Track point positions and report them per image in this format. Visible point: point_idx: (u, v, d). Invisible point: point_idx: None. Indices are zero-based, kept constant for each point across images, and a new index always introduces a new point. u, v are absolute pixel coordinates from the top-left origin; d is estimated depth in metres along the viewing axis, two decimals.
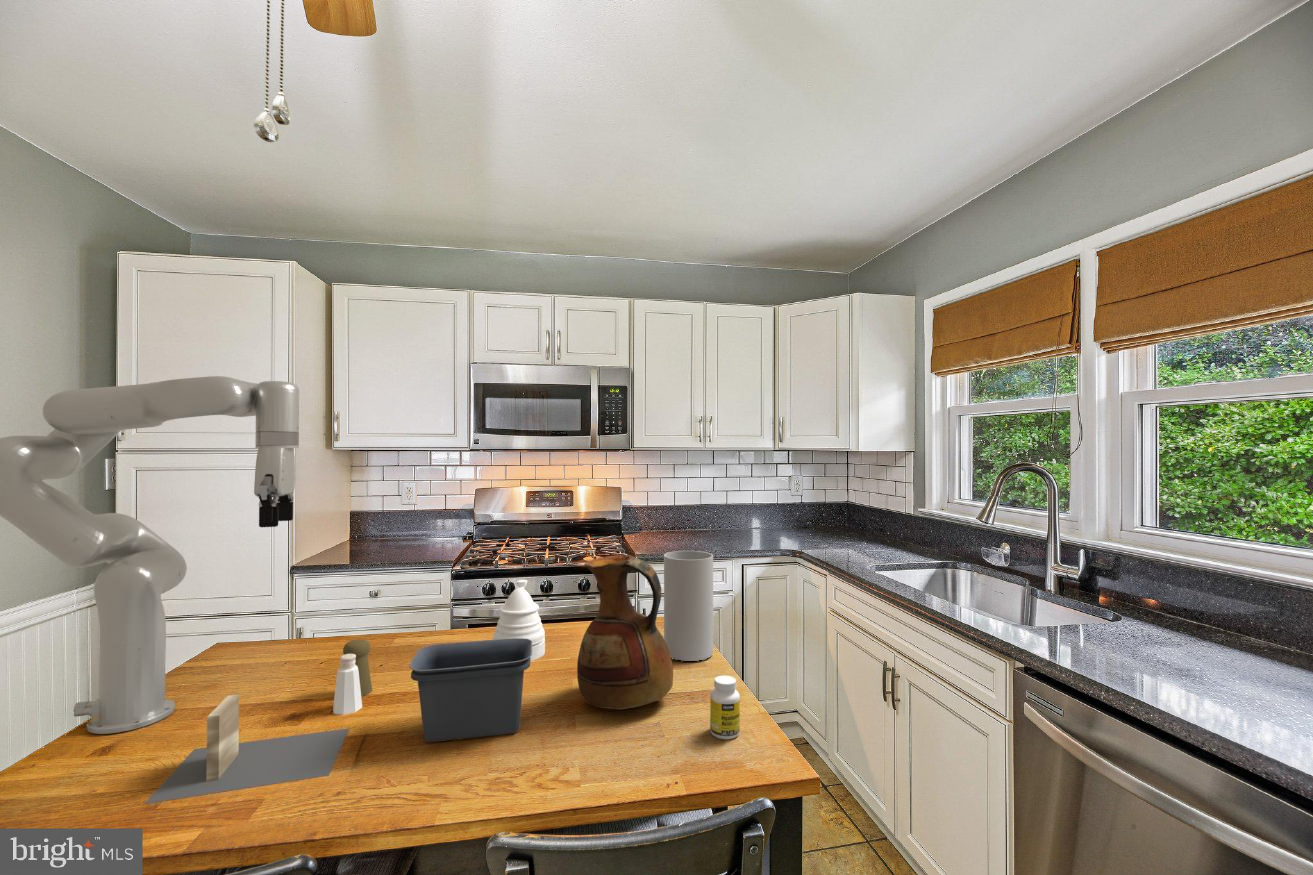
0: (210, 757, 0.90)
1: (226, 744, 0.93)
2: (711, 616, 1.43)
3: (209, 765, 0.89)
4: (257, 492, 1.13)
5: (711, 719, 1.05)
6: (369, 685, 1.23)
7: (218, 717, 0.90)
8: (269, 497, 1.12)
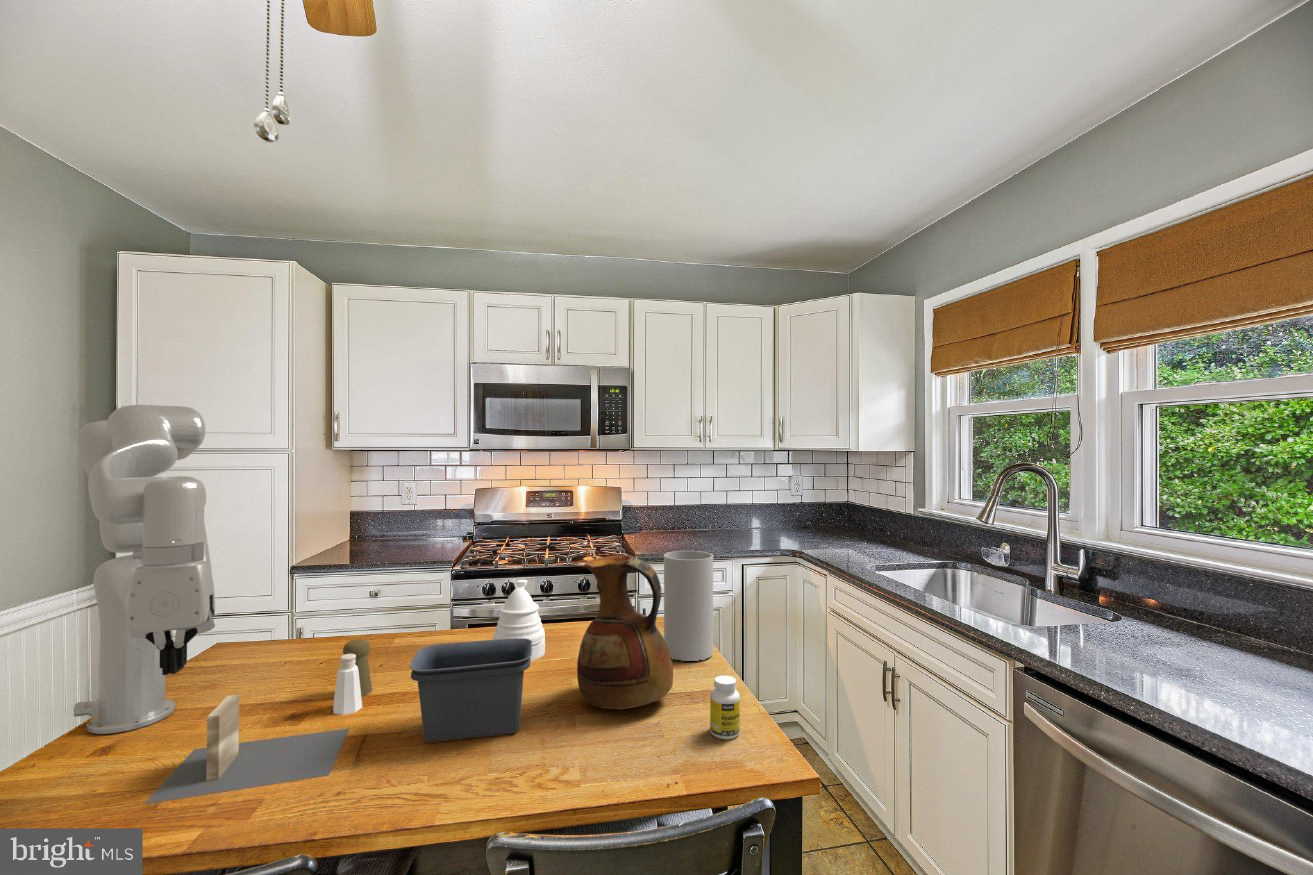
0: (210, 757, 0.90)
1: (226, 744, 0.93)
2: (711, 616, 1.43)
3: (209, 765, 0.89)
4: (205, 620, 0.91)
5: (711, 719, 1.05)
6: (369, 685, 1.23)
7: (218, 717, 0.90)
8: None
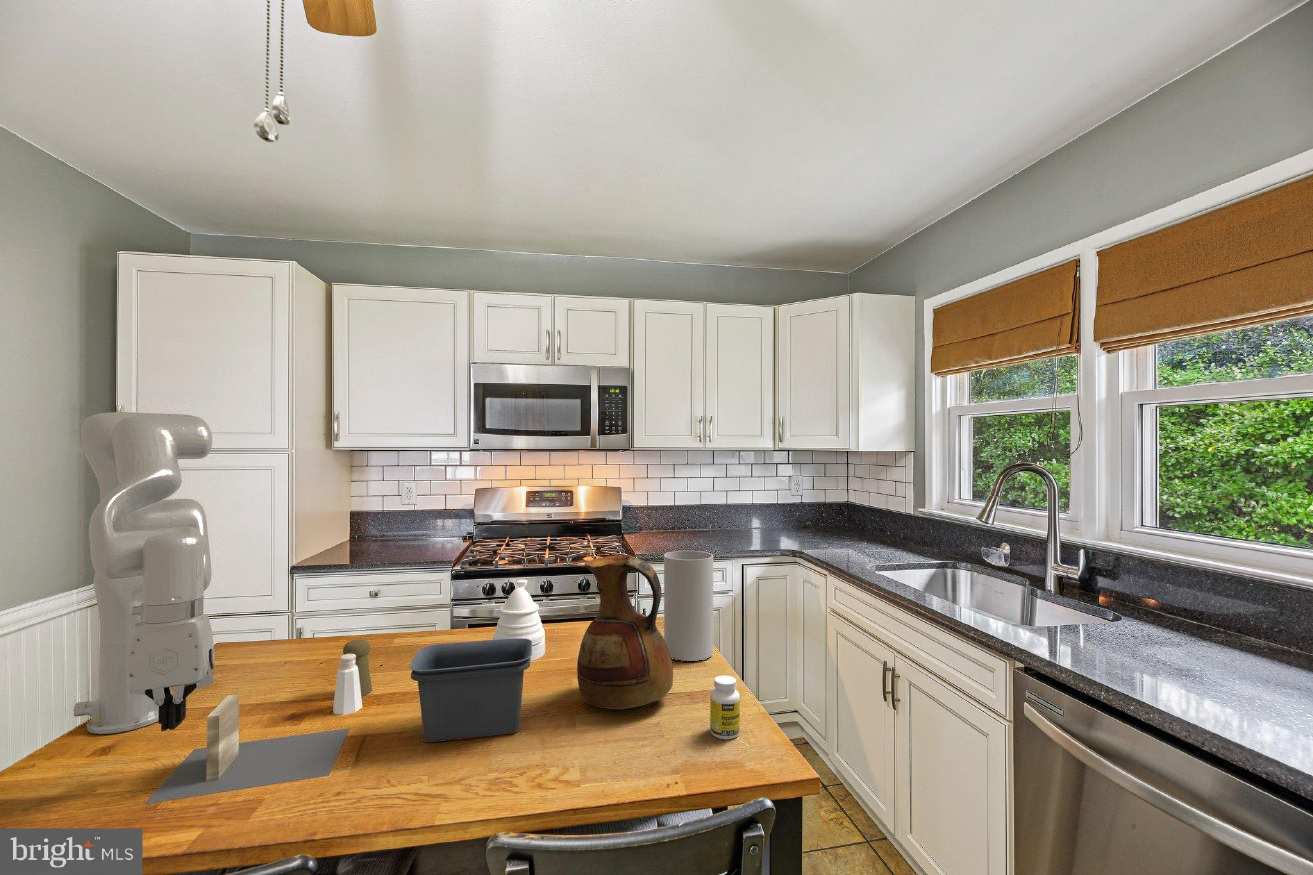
0: (210, 757, 0.90)
1: (226, 744, 0.93)
2: (711, 616, 1.43)
3: (209, 765, 0.89)
4: (204, 675, 0.91)
5: (711, 719, 1.05)
6: (369, 685, 1.23)
7: (218, 717, 0.90)
8: None
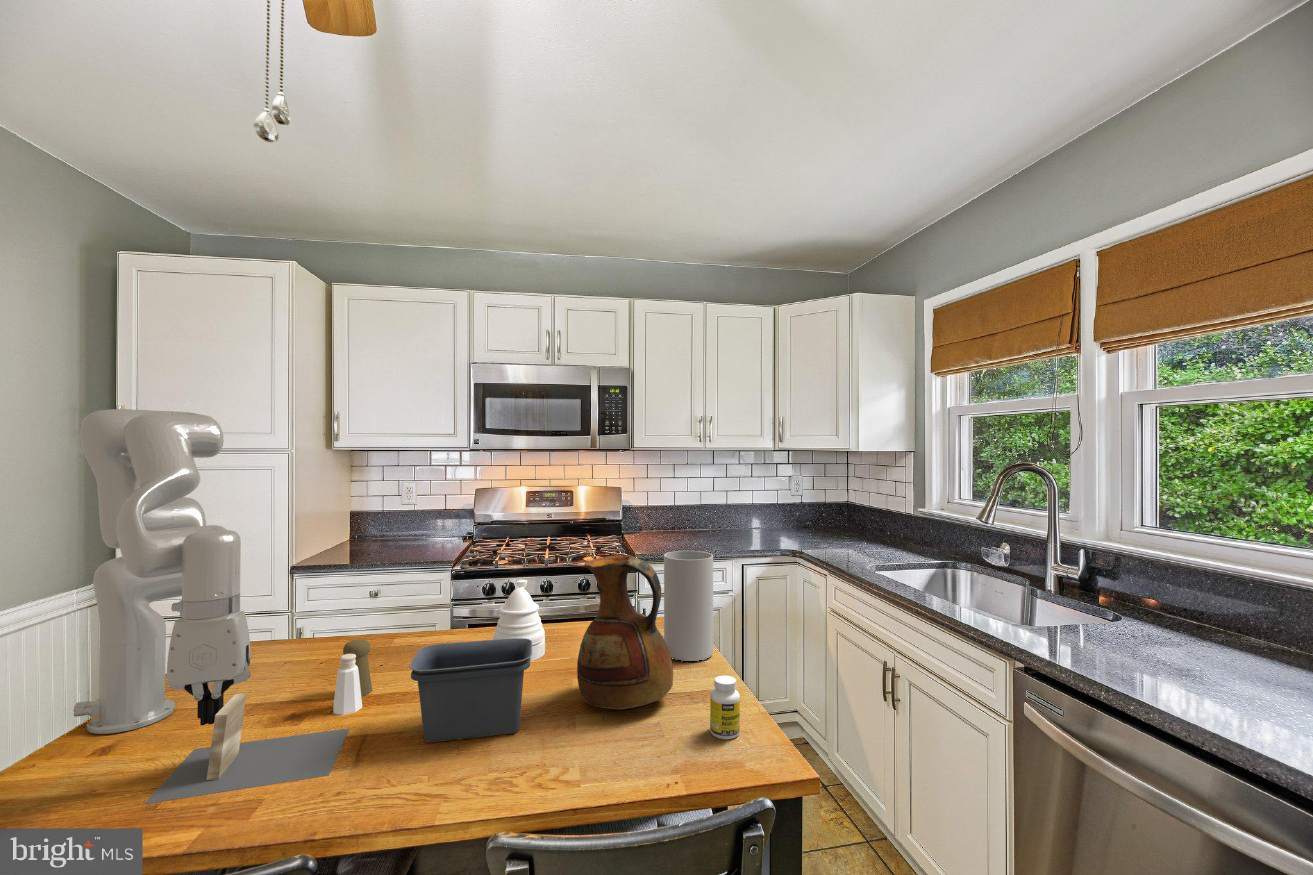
0: (213, 756, 0.90)
1: (229, 744, 0.93)
2: (711, 616, 1.43)
3: (211, 764, 0.90)
4: (241, 671, 0.93)
5: (711, 719, 1.05)
6: (369, 685, 1.23)
7: (226, 716, 0.90)
8: None
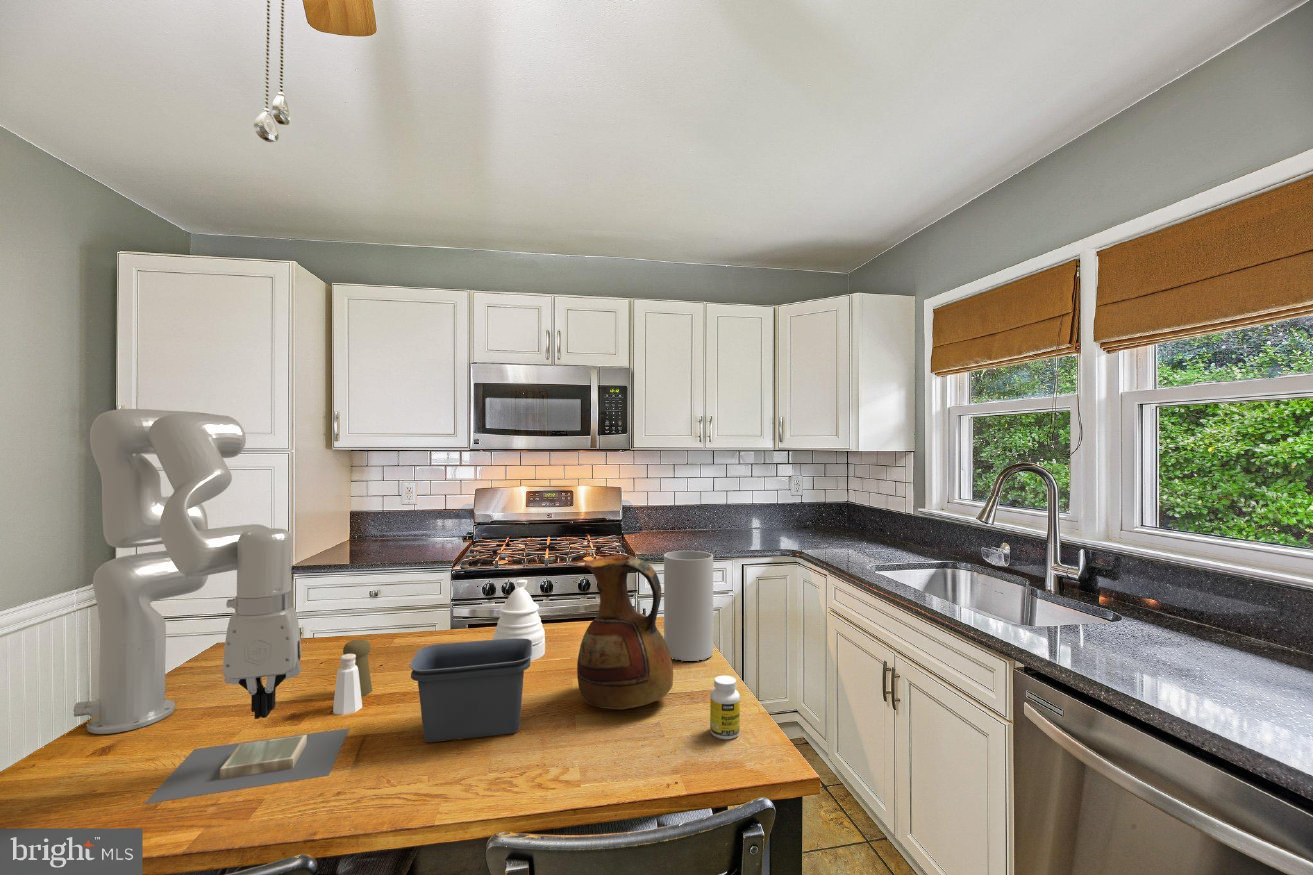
0: (246, 768, 0.91)
1: None
2: (711, 616, 1.43)
3: (237, 768, 0.91)
4: (294, 666, 0.95)
5: (711, 719, 1.05)
6: (369, 685, 1.23)
7: (290, 767, 0.93)
8: None
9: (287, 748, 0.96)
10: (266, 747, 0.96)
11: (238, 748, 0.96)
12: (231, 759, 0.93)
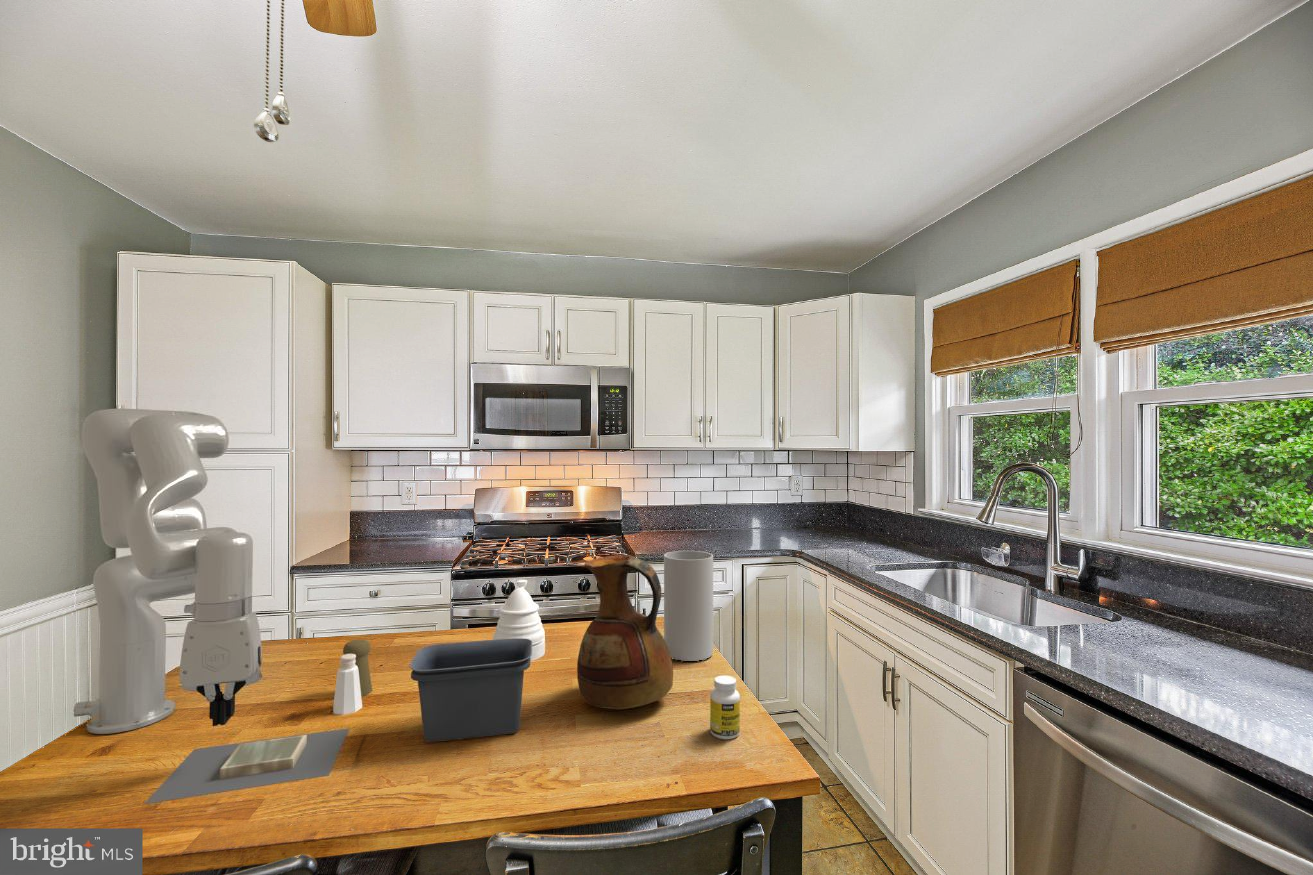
0: (246, 768, 0.91)
1: None
2: (711, 616, 1.43)
3: (237, 768, 0.91)
4: (254, 672, 0.93)
5: (711, 719, 1.05)
6: (369, 685, 1.23)
7: (290, 767, 0.93)
8: None
9: (287, 748, 0.96)
10: (266, 747, 0.96)
11: (238, 748, 0.96)
12: (231, 759, 0.93)
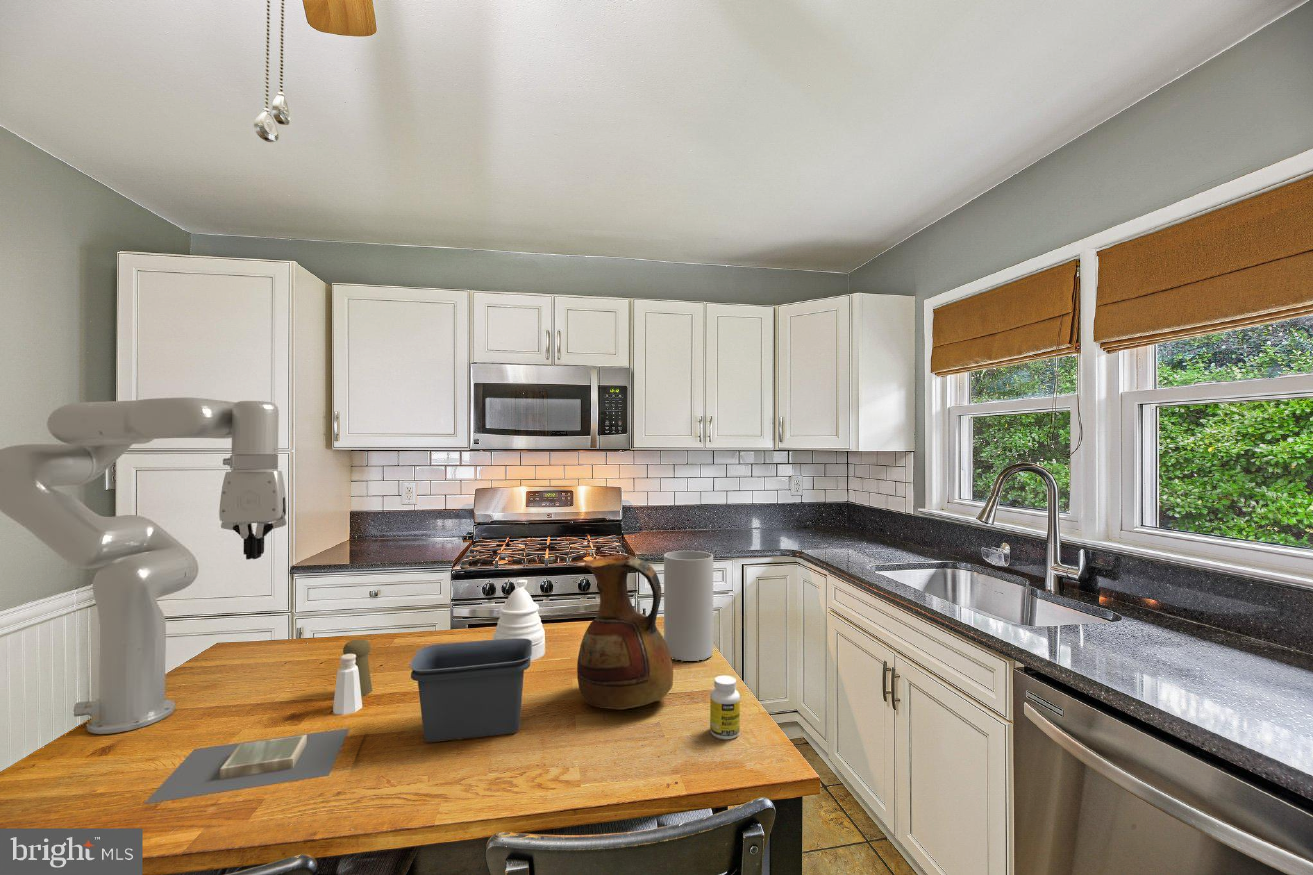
0: (246, 768, 0.91)
1: None
2: (711, 616, 1.43)
3: (237, 768, 0.91)
4: (279, 516, 1.12)
5: (711, 719, 1.05)
6: (369, 685, 1.23)
7: (290, 767, 0.93)
8: None
9: (287, 748, 0.96)
10: (266, 747, 0.96)
11: (238, 748, 0.96)
12: (231, 759, 0.93)
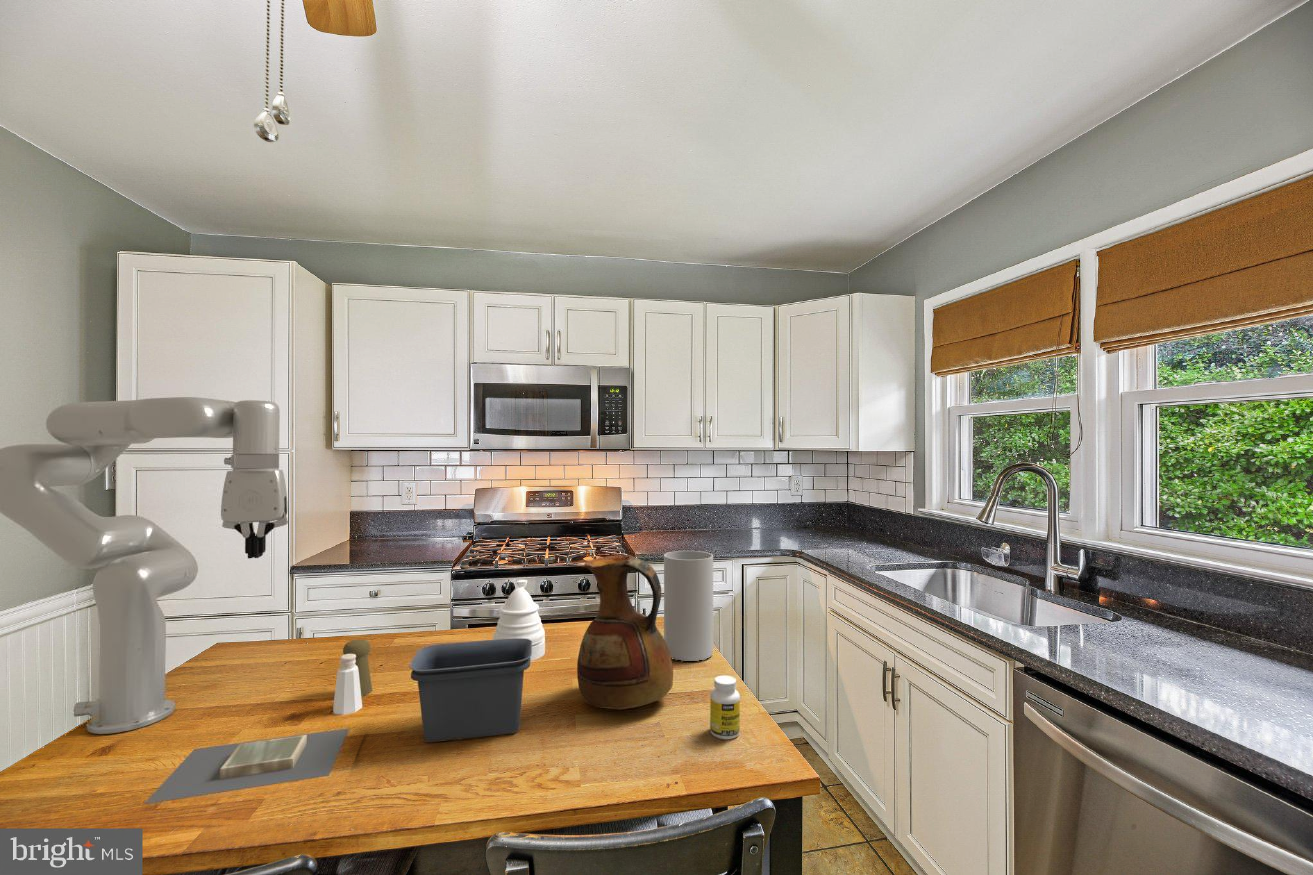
0: (246, 768, 0.91)
1: None
2: (711, 616, 1.43)
3: (237, 768, 0.91)
4: (281, 515, 1.12)
5: (711, 719, 1.05)
6: (369, 685, 1.23)
7: (290, 767, 0.93)
8: None
9: (287, 748, 0.96)
10: (266, 747, 0.96)
11: (238, 748, 0.96)
12: (231, 759, 0.93)
